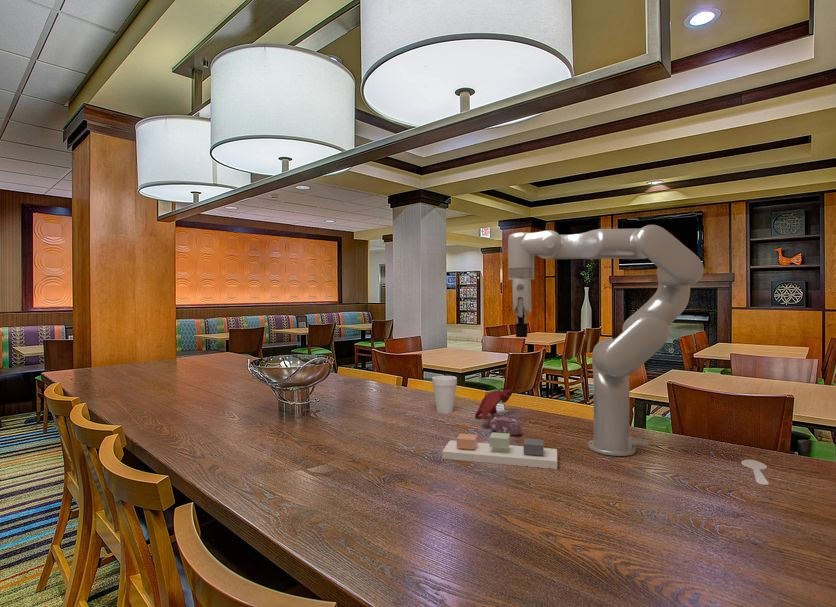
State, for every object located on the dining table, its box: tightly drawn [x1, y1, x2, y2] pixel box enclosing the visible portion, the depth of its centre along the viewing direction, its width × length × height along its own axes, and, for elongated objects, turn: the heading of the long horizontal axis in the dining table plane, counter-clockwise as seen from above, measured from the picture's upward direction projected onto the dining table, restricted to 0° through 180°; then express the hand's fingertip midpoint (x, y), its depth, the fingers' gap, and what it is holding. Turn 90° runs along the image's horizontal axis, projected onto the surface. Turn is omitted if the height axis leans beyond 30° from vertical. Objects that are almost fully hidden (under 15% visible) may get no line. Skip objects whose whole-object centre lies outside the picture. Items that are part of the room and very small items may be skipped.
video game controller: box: [488, 416, 523, 437], centre depth 147 cm, size 10×5×7 cm, turn 62°
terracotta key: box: [456, 433, 479, 449], centre depth 129 cm, size 5×5×2 cm
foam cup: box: [432, 375, 458, 414], centre depth 178 cm, size 10×9×13 cm
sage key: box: [488, 431, 511, 448], centre depth 126 cm, size 5×5×2 cm
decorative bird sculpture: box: [474, 389, 514, 421], centre depth 166 cm, size 28×9×15 cm
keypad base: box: [441, 439, 558, 470], centre depth 126 cm, size 30×10×2 cm, turn 74°
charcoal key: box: [523, 438, 545, 455], centre depth 124 cm, size 5×5×2 cm
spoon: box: [740, 459, 770, 486], centre depth 115 cm, size 5×18×1 cm, turn 151°
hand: (521, 336), depth 137 cm, fingers closed
